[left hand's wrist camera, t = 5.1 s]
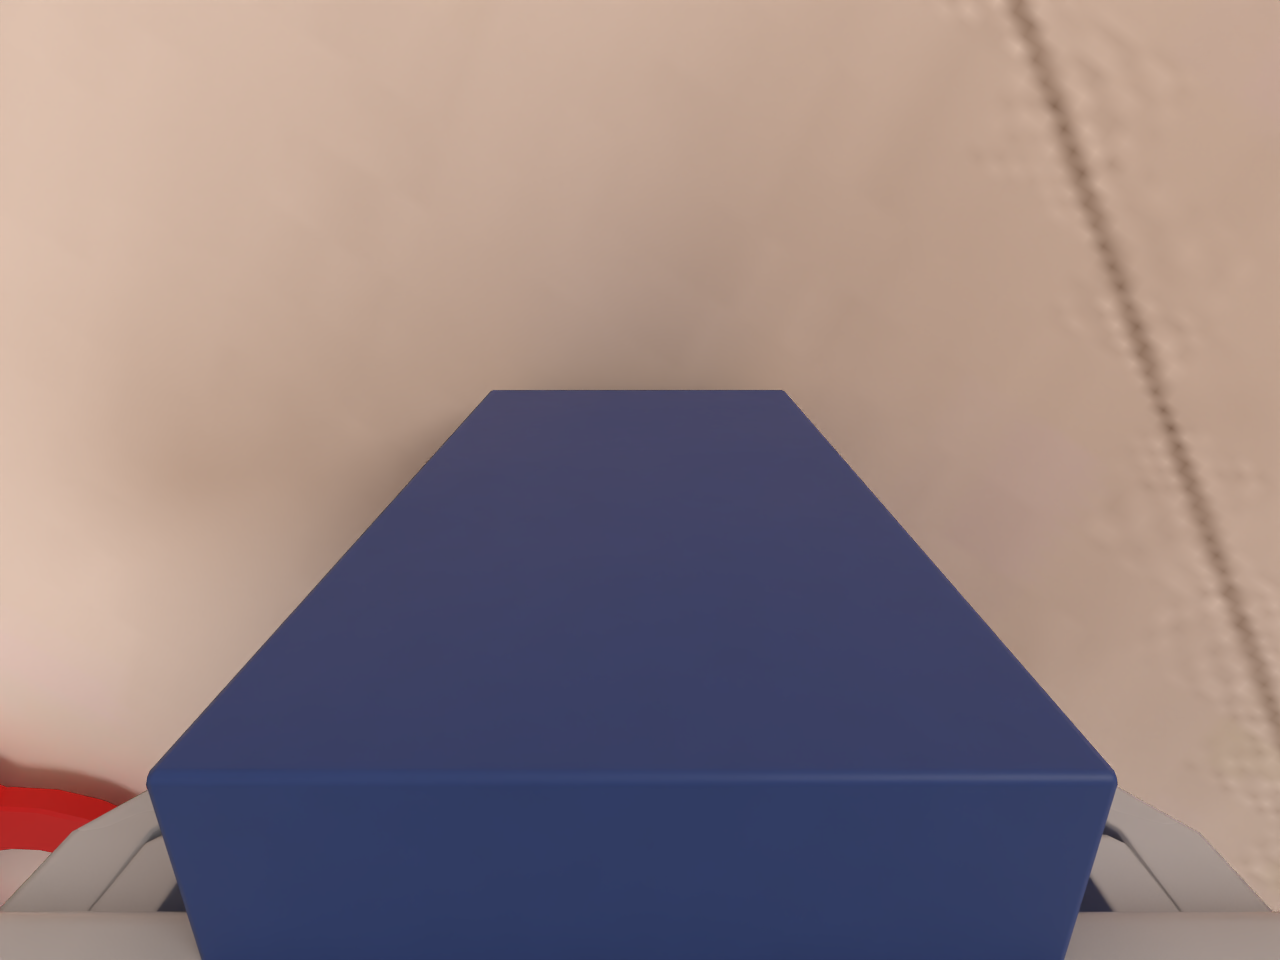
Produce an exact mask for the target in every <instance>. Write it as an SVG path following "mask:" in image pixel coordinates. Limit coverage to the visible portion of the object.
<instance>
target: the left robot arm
mask: <svg viewBox="0 0 1280 960" xmlns="http://www.w3.org/2000/svg"><path fill="white" fill-rule="evenodd" d="M0 960H201V957H200V953H199V950H198V947H197V944H196V941H195V938H194V934H193V931H192V928H191V925H190V922H189V919H188V915H187V912H186V909H185V906H184V903H183V900H182V896H181V893H180V890H179V887H178V884H177V881H176V878H175V874H174V871H173V868H172V865H171V862H170V859H169V855H168V852H167V849H166V846H165V843H164V840H163V836H162V833H161V830H160V827H159V824H158V821H157V817H156V814H155V811H154V808H153V805H152V802H151V799H150V795H149V792H148V790H147V791H145V792H143V793H141V794H140V795H138V796H136V797H134V798H132V799H130V800H129V801H127V802H125V803H123V804H121V805H120V806H118V807H116V808H114V809H112V810H110V811H109V812H107V813H105V814H103V815H101V816H100V817H98V818H96V819H94V820H92V821H91V822H89V823H87V824H85V825H83V826H81V827H80V828H78V829H76V830H74V831H72V832H71V833H70V834H69V836H68V837H67V838H66V839H65V840H64V841H63V842H62V843H61V844H60V845H59V846H58V847H57V848H56V849H55V850H54V851H53V853H52V854H51V855H50V856H49V857H48V858H47V859H46V860H45V861H44V862H43V863H42V864H41V865H40V866H39V867H38V868H37V870H36V871H35V872H34V873H33V874H32V875H31V876H30V877H29V878H28V879H27V880H26V881H25V882H24V883H23V884H22V885H21V887H20V888H19V889H18V890H17V891H16V892H15V893H14V894H13V895H12V896H11V897H10V898H9V899H8V900H7V901H6V902H5V904H4V905H3V906H2V907H1V908H0ZM1064 960H1280V912H1272V911H1271V909H1270V908H1269V907H1268V906H1267V905H1266V904H1265V903H1264V902H1263V901H1262V900H1261V899H1260V898H1259V896H1258V895H1257V894H1256V893H1255V892H1254V891H1253V890H1252V889H1251V888H1250V887H1249V886H1248V884H1247V883H1246V882H1245V881H1244V880H1243V879H1242V878H1241V877H1240V876H1239V875H1238V874H1237V873H1236V871H1235V870H1234V869H1233V868H1232V867H1231V866H1230V865H1229V864H1228V863H1227V862H1226V861H1225V860H1224V858H1223V857H1222V856H1221V855H1220V854H1219V853H1218V852H1217V851H1216V850H1215V849H1214V848H1213V846H1212V845H1211V844H1210V843H1209V842H1208V841H1207V840H1206V839H1205V838H1204V837H1203V836H1202V835H1201V833H1199V832H1198V831H1196V830H1194V829H1192V828H1190V827H1189V826H1187V825H1185V824H1183V823H1181V822H1180V821H1178V820H1176V819H1174V818H1173V817H1171V816H1169V815H1167V814H1165V813H1164V812H1162V811H1160V810H1158V809H1156V808H1155V807H1153V806H1151V805H1149V804H1147V803H1146V802H1144V801H1142V800H1140V799H1138V798H1137V797H1135V796H1133V795H1131V794H1129V793H1128V792H1126V791H1124V790H1122V789H1121V788H1119V787H1117V788H1116V791H1115V795H1114V798H1113V801H1112V804H1111V808H1110V811H1109V814H1108V818H1107V821H1106V824H1105V827H1104V831H1103V834H1102V837H1101V841H1100V844H1099V847H1098V850H1097V854H1096V857H1095V860H1094V863H1093V867H1092V870H1091V873H1090V877H1089V880H1088V883H1087V886H1086V890H1085V893H1084V896H1083V900H1082V903H1081V906H1080V909H1079V913H1078V916H1077V919H1076V922H1075V926H1074V929H1073V932H1072V936H1071V939H1070V942H1069V945H1068V949H1067V952H1066V955H1065V959H1064Z"/></svg>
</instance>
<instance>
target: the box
mask: <svg viewBox="0 0 1280 960" xmlns="http://www.w3.org/2000/svg"><path fill="white" fill-rule="evenodd" d="M1117 785H1118V784H1117V777H1116V775H1115V772H1114V770H1113V769H1112V768H1111V767H1110V766H1109V764H1108V763H1107V762H1106V761H1105V760H1104V759H1103V758H1102V756H1101V755H1100V754H1099V753H1098V752H1097V751H1096V749H1095V748H1094V747H1093V746H1092V745H1091V744H1090V743H1089V741H1088V740H1087V739H1086V738H1085V737H1084V736H1083V735H1082V733H1081V732H1080V731H1079V730H1078V729H1077V728H1076V726H1075V725H1074V724H1073V723H1072V722H1071V721H1070V720H1069V718H1068V717H1067V716H1066V715H1065V714H1064V713H1063V712H1062V710H1061V709H1060V708H1059V707H1058V706H1057V705H1056V703H1055V702H1054V701H1053V700H1052V699H1051V698H1050V697H1049V695H1048V694H1047V693H1046V692H1045V691H1044V690H1043V688H1042V687H1041V686H1040V685H1039V684H1038V683H1037V682H1036V680H1035V679H1034V678H1033V677H1032V676H1031V675H1030V674H1029V672H1028V671H1027V670H1026V669H1025V668H1024V667H1023V665H1022V664H1021V663H1020V662H1019V661H1018V660H1017V659H1016V657H1015V656H1014V655H1013V654H1012V653H1011V652H1010V650H1009V649H1008V648H1007V647H1006V646H1005V645H1004V644H1003V642H1002V641H1001V640H1000V639H999V638H998V637H997V636H996V634H995V633H994V632H993V631H992V630H991V629H990V627H989V626H988V625H987V624H986V623H985V622H984V621H983V619H982V618H981V617H980V616H979V615H978V614H977V613H976V611H975V610H974V609H973V608H972V607H971V606H970V604H969V603H968V602H967V601H966V600H965V599H964V598H963V596H962V595H961V594H960V593H959V592H958V591H957V589H956V588H955V587H954V586H953V585H952V584H951V583H950V581H949V580H948V579H947V578H946V577H945V576H944V575H943V573H942V572H941V571H940V570H939V569H938V568H937V566H936V565H935V564H934V563H933V562H932V561H931V560H930V558H929V557H928V556H927V555H926V554H925V553H924V551H923V550H922V549H921V548H920V547H919V546H918V545H917V543H916V542H915V541H914V540H913V539H912V538H911V537H910V535H909V534H908V533H907V532H906V531H905V530H904V528H903V527H902V526H901V525H900V524H899V523H898V522H897V520H896V519H895V518H894V517H893V516H892V515H891V513H890V512H889V511H888V510H887V509H886V508H885V507H884V505H883V504H882V503H881V502H880V501H879V500H878V499H877V497H876V496H875V495H874V494H873V493H872V492H871V490H870V489H869V488H868V487H867V486H866V485H865V484H864V482H863V481H862V480H861V479H860V478H859V477H858V476H857V474H856V473H855V472H854V471H853V470H852V469H851V467H850V466H849V465H848V464H847V463H846V462H845V461H844V459H843V458H842V457H841V456H840V455H839V454H838V452H837V451H836V450H835V449H834V448H833V447H832V446H831V444H830V443H829V442H828V441H827V440H826V439H825V438H824V436H823V435H822V434H821V433H820V432H819V431H818V429H817V428H816V427H815V426H814V425H813V424H812V423H811V421H810V420H809V419H808V418H807V417H806V416H805V414H804V413H803V412H802V411H801V410H800V409H799V408H798V406H797V405H796V404H795V403H794V402H793V401H792V400H791V398H790V397H789V396H788V395H787V394H786V393H785V391H782V390H493V391H491V392H490V393H489V394H488V395H487V396H486V397H485V398H484V399H483V401H482V402H481V403H480V404H479V405H478V406H477V407H476V408H475V409H474V411H473V412H472V413H471V414H470V415H469V416H468V417H467V418H466V419H465V421H464V422H463V423H462V424H461V425H460V426H459V427H458V428H457V430H456V431H455V432H454V433H453V434H452V435H451V436H450V437H449V438H448V440H447V441H446V442H445V443H444V444H443V445H442V446H441V447H440V448H439V450H438V451H437V452H436V453H435V454H434V455H433V456H432V457H431V458H430V460H429V461H428V462H427V463H426V464H425V465H424V466H423V467H422V469H421V470H420V471H419V472H418V473H417V474H416V475H415V476H414V477H413V479H412V480H411V481H410V482H409V483H408V484H407V485H406V486H405V487H404V489H403V490H402V491H401V492H400V493H399V494H398V495H397V496H396V497H395V499H394V500H393V501H392V502H391V503H390V504H389V505H388V506H387V507H386V509H385V510H384V511H383V512H382V513H381V514H380V515H379V516H378V518H377V519H376V520H375V521H374V522H373V523H372V524H371V525H370V526H369V528H368V529H367V530H366V531H365V532H364V533H363V534H362V535H361V536H360V538H359V539H358V540H357V541H356V542H355V543H354V544H353V545H352V546H351V548H350V549H349V550H348V551H347V552H346V553H345V554H344V555H343V556H342V558H341V559H340V560H339V561H338V562H337V563H336V564H335V565H334V567H333V568H332V569H331V570H330V571H329V572H328V573H327V574H326V575H325V577H324V578H323V579H322V580H321V581H320V582H319V583H318V584H317V585H316V587H315V588H314V589H313V590H312V591H311V592H310V593H309V594H308V595H307V597H306V598H305V599H304V600H303V601H302V602H301V603H300V604H299V605H298V607H297V608H296V609H295V610H294V611H293V612H292V613H291V614H290V616H289V617H288V618H287V619H286V620H285V621H284V622H283V623H282V624H281V626H280V627H279V628H278V629H277V630H276V631H275V632H274V633H273V634H272V636H271V637H270V638H269V639H268V640H267V641H266V642H265V643H264V644H263V646H262V647H261V648H260V649H259V650H258V651H257V652H256V653H255V654H254V656H253V657H252V658H251V659H250V660H249V661H248V662H247V663H246V665H245V666H244V667H243V668H242V669H241V670H240V671H239V672H238V673H237V675H236V676H235V677H234V678H233V679H232V680H231V681H230V682H229V683H228V685H227V686H226V687H225V688H224V689H223V690H222V691H221V692H220V693H219V695H218V696H217V697H216V698H215V699H214V700H213V701H212V702H211V704H210V705H209V706H208V707H207V708H206V709H205V710H204V711H203V712H202V714H201V715H200V716H199V717H198V718H197V719H196V720H195V721H194V722H193V724H192V725H191V726H190V727H189V728H188V729H187V730H186V731H185V732H184V734H183V735H182V736H181V737H180V738H179V739H178V740H177V741H176V742H175V744H174V745H173V746H172V747H171V748H170V749H169V750H168V751H167V753H166V754H165V755H164V756H163V757H162V758H161V759H160V760H159V761H158V763H157V764H156V765H155V766H154V767H153V768H152V769H151V770H150V772H149V774H148V777H147V782H146V786H147V789H148V792H149V795H150V799H151V802H152V805H153V808H154V811H155V814H156V817H157V821H158V824H159V827H160V830H161V833H162V836H163V840H164V843H165V846H166V849H167V852H168V855H169V859H170V862H171V865H172V868H173V871H174V874H175V878H176V881H177V884H178V887H179V890H180V893H181V896H182V900H183V903H184V906H185V909H186V912H187V915H188V919H189V922H190V925H191V928H192V931H193V934H194V938H195V941H196V944H197V947H198V950H199V953H200V957H201V960H1064V959H1065V955H1066V952H1067V949H1068V945H1069V942H1070V939H1071V936H1072V932H1073V929H1074V926H1075V922H1076V919H1077V916H1078V913H1079V909H1080V906H1081V903H1082V900H1083V896H1084V893H1085V890H1086V886H1087V883H1088V880H1089V877H1090V873H1091V870H1092V867H1093V863H1094V860H1095V857H1096V854H1097V850H1098V847H1099V844H1100V841H1101V837H1102V834H1103V831H1104V827H1105V824H1106V821H1107V818H1108V814H1109V811H1110V808H1111V804H1112V801H1113V798H1114V795H1115V791H1116V788H1117Z"/></svg>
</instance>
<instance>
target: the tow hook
mask: <svg viewBox="0 0 1280 960" xmlns="http://www.w3.org/2000/svg"><path fill="white" fill-rule="evenodd" d="M116 807H118V806H116V805H114V804H111V803H109V802H107V801H104V800H101V799H97V798H92V797H88V796H84V795H80V794H75V793H71V792H67V791H63V790H57V789H40V788H22V787H5V786H3V785H1V784H0V850H6V849H30V850H42V851H47V852H52V853H53V851H54V850H55V849H56V848H57V847H58V846H59V845H60V844H61V843H62V842H63V841H64V840H65V839H66V838H67V837H68V836H69V834H70V833H71V832H72V831H74V830H76V829H78V828H80V827H81V826H83V825H85V824H87V823H89V822H91V821H92V820H94V819H96V818H98V817H100V816H101V815H103V814H105V813H107V812H109V811H110V810H112V809H114V808H116Z"/></svg>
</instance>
